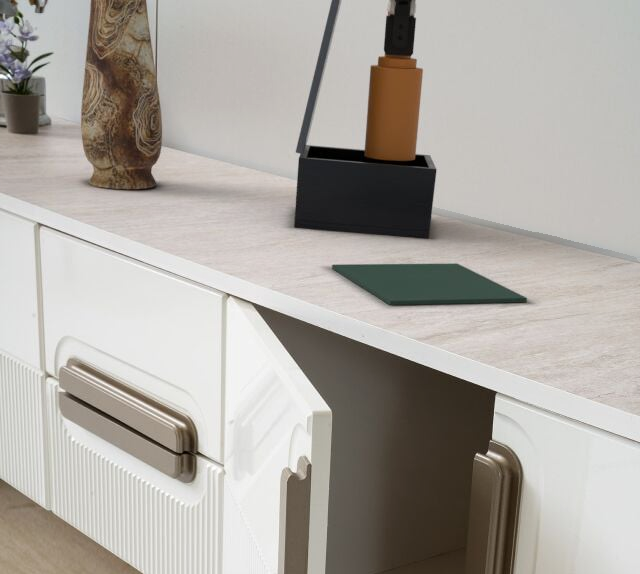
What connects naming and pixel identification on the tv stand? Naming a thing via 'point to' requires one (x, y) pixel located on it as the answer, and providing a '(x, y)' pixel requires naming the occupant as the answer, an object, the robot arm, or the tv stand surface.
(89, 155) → the vase
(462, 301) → the mat
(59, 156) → the tv stand surface
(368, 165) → the black rectangular box
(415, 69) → the bottle
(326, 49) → the lid
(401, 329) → the tv stand surface
